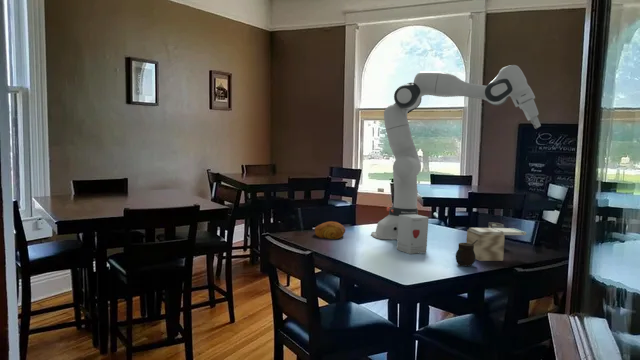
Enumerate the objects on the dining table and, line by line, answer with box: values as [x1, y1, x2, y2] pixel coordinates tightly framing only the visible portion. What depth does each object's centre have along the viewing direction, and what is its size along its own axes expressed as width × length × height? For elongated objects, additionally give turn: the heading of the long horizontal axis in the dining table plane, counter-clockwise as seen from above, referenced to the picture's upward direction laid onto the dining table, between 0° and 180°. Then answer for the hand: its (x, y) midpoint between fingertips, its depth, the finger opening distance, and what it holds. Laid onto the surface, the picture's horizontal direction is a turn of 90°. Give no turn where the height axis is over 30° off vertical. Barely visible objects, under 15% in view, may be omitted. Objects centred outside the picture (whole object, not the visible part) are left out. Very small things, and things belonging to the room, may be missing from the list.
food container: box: [488, 221, 505, 228], centre depth 227 cm, size 12×6×10 cm, turn 168°
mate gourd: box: [455, 240, 478, 267], centre depth 188 cm, size 7×8×10 cm
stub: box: [494, 227, 527, 236], centre depth 204 cm, size 10×9×1 cm
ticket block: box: [465, 227, 506, 262], centre depth 203 cm, size 10×12×11 cm
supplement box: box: [396, 214, 429, 255], centre depth 208 cm, size 9×9×15 cm
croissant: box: [314, 220, 346, 240], centre depth 236 cm, size 14×16×8 cm
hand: (538, 127), depth 219 cm, fingers open, 8 cm apart
